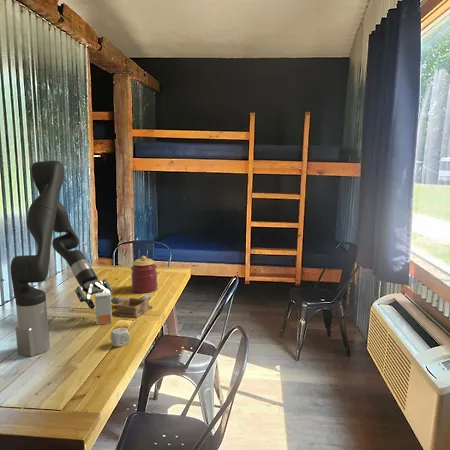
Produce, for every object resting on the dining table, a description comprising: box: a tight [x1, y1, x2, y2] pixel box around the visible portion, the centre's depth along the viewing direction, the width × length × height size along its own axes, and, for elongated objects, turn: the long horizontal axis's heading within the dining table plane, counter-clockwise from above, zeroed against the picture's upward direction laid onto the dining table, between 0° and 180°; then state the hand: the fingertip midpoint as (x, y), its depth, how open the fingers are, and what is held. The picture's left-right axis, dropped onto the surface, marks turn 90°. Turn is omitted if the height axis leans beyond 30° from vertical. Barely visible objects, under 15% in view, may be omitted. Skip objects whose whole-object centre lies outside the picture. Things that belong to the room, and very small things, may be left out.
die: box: [110, 327, 131, 348], centre depth 139 cm, size 5×5×5 cm
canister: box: [130, 255, 158, 294], centre depth 199 cm, size 13×13×18 cm
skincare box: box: [94, 291, 113, 325], centre depth 158 cm, size 6×4×12 cm
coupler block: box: [111, 293, 153, 319], centre depth 173 cm, size 18×18×4 cm
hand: (102, 304), depth 158 cm, fingers open, 8 cm apart
